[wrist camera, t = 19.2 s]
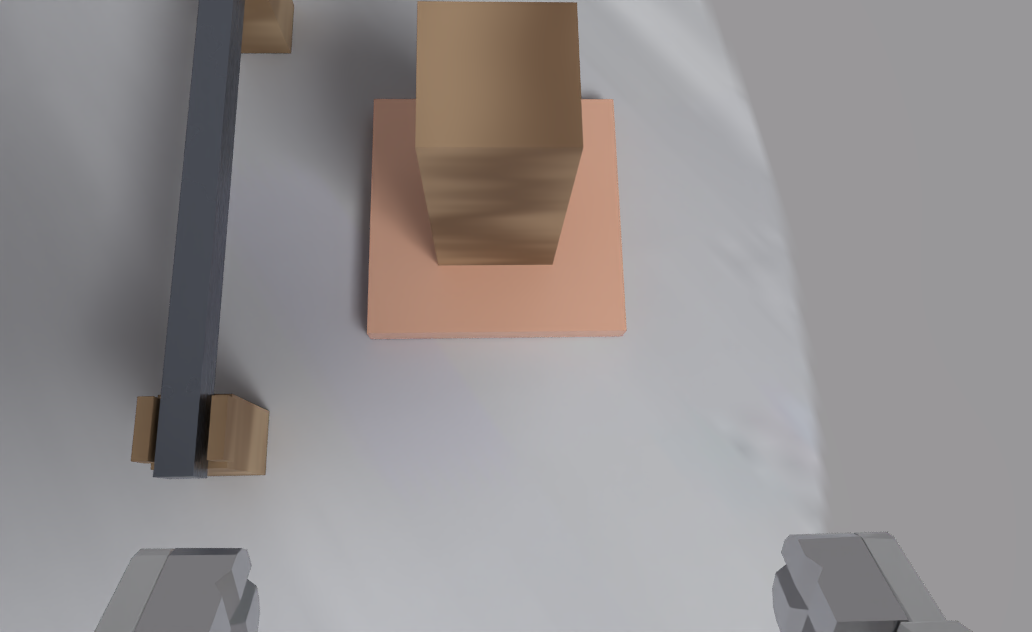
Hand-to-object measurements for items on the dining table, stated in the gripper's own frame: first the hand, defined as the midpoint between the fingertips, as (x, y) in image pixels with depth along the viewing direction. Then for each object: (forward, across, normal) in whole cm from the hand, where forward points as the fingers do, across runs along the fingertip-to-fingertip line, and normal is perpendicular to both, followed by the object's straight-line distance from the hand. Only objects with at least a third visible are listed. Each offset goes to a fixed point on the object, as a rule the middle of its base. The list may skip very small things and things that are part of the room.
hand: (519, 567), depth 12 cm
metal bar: (+18, +10, 0) cm, 21 cm away
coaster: (+21, 0, +3) cm, 21 cm away
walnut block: (+20, 0, +3) cm, 21 cm away
